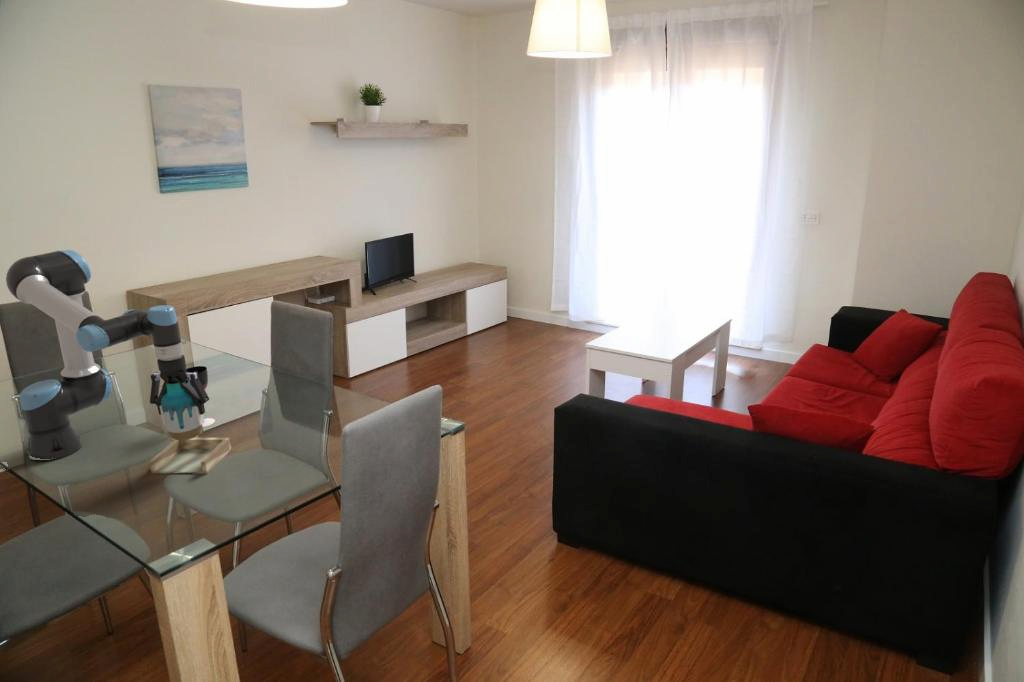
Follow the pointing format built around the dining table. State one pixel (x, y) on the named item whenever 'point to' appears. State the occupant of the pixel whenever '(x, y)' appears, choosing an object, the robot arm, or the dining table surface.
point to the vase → (179, 413)
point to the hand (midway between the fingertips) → (184, 423)
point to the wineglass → (204, 381)
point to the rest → (191, 455)
